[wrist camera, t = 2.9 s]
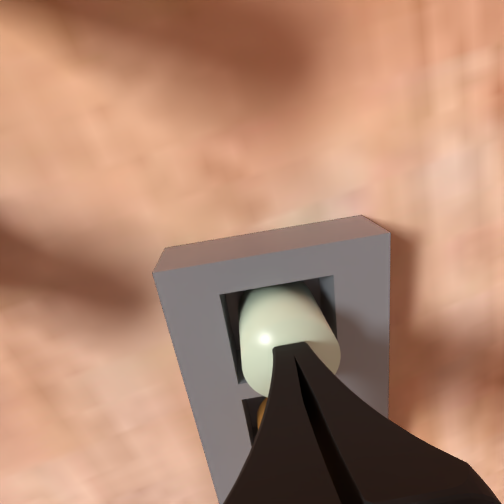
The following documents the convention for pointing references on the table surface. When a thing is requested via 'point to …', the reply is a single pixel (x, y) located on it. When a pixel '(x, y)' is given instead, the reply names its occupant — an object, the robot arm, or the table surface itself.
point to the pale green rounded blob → (281, 329)
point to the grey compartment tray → (227, 325)
